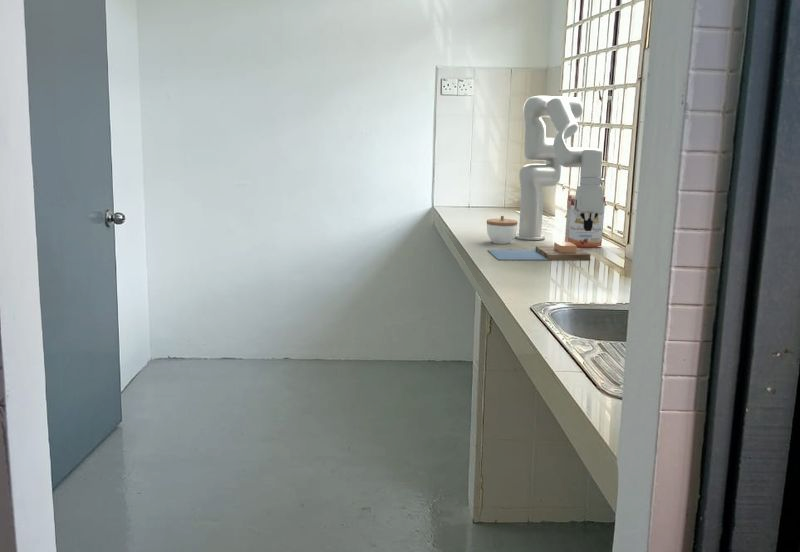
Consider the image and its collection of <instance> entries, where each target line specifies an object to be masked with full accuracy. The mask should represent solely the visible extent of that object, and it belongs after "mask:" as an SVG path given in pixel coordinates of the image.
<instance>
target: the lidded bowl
mask: <svg viewBox="0 0 800 552" xmlns="http://www.w3.org/2000/svg"><path fill="white" fill-rule="evenodd" d="M504 217H505V215H500V218H488V219H486V232H487V236H488V238H489V240H490V241H492V244H497V245H500V244H501V245H506V244H511V243H510V242H512V241H513V240H514V238H516V237H515V235H516V234H517V231H518V230H517V229H518V221H517V220H516V219H510V218H504Z"/></svg>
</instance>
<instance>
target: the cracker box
mask: <svg viewBox="0 0 800 552" xmlns="http://www.w3.org/2000/svg"><path fill="white" fill-rule="evenodd" d="M575 195H576V194H568V195H567V205H566V206H567V207H566V222H565V237H564V242H571V243H572V244H574V245H576V246H577V247H578V248H598V247H597V246H601V247H602V243H603V231H604V220H605V210H606V209H605V207H606V196H605V195H603V215H600V216H597V217H596V218H595V219H594V220H593V226H592V229H591V231H585V230H584V228H583V226H584V220H583V218H582V217H581V216H578V215H575V214H574V213H575V209H574V203H575ZM580 213H582V212H580ZM587 213H588V218H589V214H590V212H587ZM595 213H597V212H595Z"/></svg>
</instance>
